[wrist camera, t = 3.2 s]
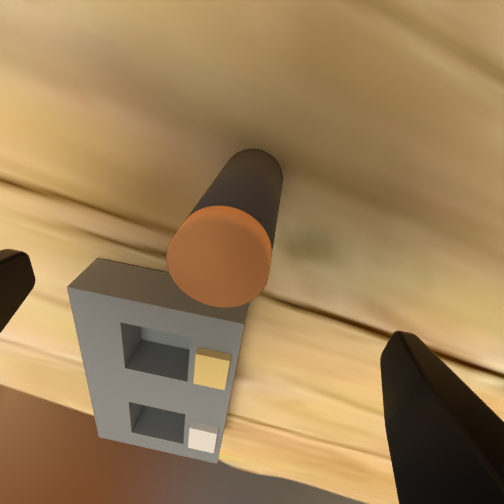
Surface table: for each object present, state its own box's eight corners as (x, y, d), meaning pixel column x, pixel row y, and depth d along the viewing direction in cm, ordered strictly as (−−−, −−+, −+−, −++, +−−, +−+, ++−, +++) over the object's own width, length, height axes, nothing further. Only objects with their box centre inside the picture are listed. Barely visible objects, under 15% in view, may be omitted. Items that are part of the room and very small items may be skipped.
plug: (288, 155, 15) (278, 232, 8) (276, 211, 16) (259, 315, 10) (227, 143, 15) (166, 210, 8) (221, 201, 17) (165, 296, 10)
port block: (251, 289, 19) (242, 330, 16) (224, 427, 28) (215, 470, 25) (97, 258, 20) (61, 292, 17) (117, 403, 28) (95, 443, 25)
